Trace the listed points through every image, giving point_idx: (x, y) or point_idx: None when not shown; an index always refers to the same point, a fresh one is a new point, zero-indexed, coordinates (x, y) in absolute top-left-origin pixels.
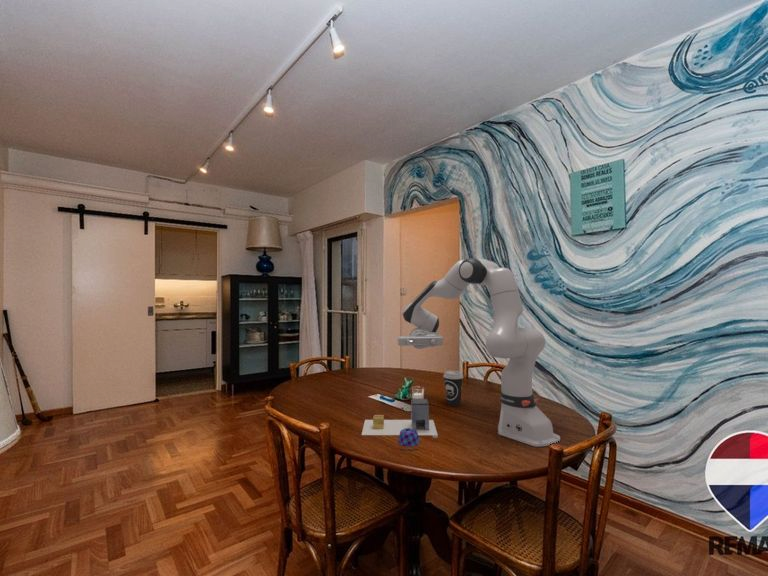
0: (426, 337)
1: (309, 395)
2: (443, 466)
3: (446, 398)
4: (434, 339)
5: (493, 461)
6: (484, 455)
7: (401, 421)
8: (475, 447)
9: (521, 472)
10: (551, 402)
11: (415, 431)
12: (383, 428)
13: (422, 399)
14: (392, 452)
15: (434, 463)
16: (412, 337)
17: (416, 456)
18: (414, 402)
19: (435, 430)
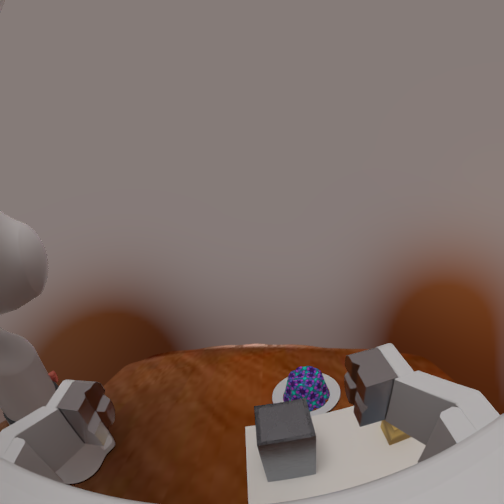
0: (60, 489)
1: None
2: (247, 354)
3: None
4: (15, 430)
5: (174, 371)
6: (179, 383)
7: (349, 482)
8: (182, 403)
9: (155, 355)
10: None
11: (290, 376)
12: (380, 426)
13: (274, 436)
14: (328, 368)
15: (259, 358)
16: (418, 481)
17: (287, 367)
18: (299, 407)
19: (248, 448)
